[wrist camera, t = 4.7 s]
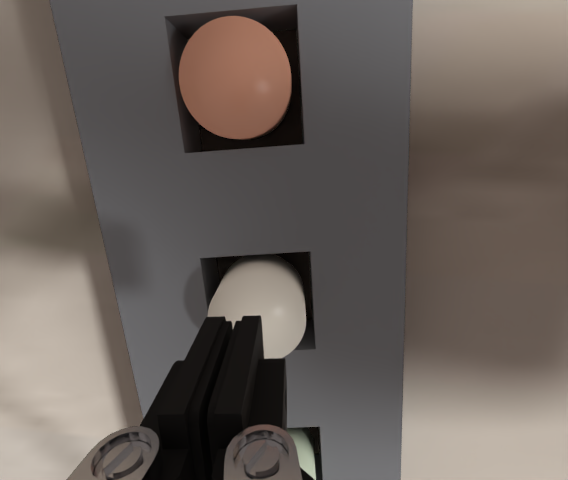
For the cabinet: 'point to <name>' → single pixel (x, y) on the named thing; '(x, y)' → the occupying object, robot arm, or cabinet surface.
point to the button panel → (258, 200)
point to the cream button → (264, 300)
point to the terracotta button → (235, 78)
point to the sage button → (304, 448)
